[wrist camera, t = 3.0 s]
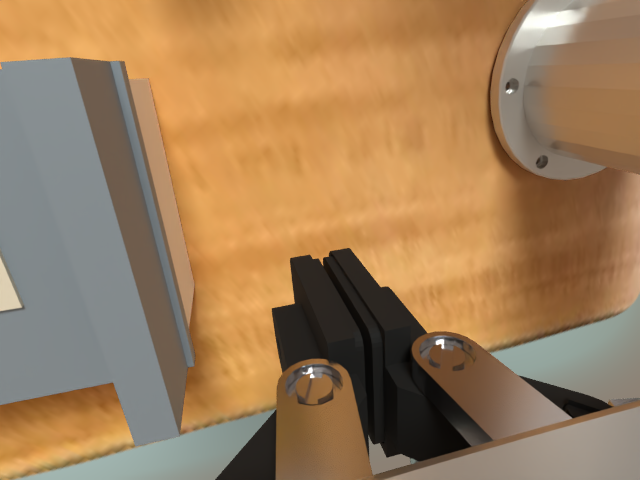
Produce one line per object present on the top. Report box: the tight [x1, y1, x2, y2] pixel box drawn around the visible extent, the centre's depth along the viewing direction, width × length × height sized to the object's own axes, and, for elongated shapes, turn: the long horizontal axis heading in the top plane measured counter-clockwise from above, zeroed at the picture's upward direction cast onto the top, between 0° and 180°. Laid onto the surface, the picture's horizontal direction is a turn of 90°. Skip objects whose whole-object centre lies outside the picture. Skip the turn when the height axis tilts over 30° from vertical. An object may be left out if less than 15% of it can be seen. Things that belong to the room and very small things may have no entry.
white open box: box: [129, 78, 195, 327], centre depth 19 cm, size 14×12×6 cm
